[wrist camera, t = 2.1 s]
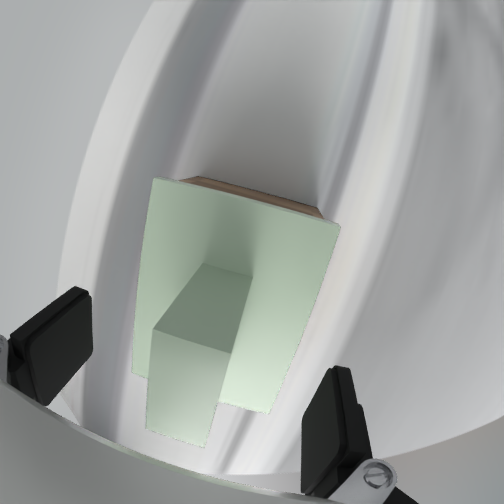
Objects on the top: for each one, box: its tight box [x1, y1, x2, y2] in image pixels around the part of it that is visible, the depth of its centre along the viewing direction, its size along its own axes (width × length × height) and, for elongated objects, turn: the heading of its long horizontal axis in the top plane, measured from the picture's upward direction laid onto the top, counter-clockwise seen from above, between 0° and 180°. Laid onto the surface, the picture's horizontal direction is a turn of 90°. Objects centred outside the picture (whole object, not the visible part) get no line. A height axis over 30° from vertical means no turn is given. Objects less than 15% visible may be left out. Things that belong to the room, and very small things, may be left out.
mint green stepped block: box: [132, 177, 341, 448], centre depth 13 cm, size 12×9×8 cm
